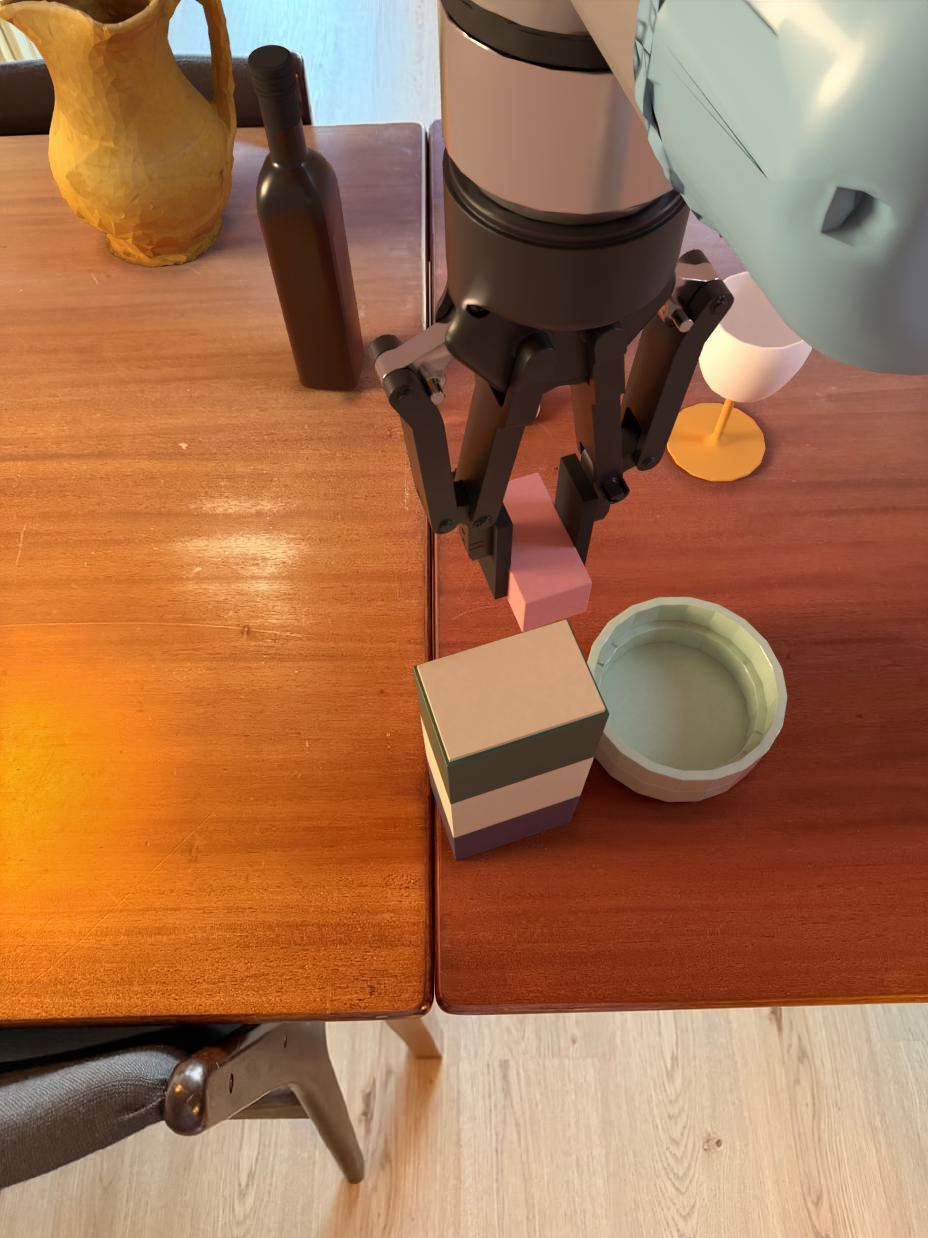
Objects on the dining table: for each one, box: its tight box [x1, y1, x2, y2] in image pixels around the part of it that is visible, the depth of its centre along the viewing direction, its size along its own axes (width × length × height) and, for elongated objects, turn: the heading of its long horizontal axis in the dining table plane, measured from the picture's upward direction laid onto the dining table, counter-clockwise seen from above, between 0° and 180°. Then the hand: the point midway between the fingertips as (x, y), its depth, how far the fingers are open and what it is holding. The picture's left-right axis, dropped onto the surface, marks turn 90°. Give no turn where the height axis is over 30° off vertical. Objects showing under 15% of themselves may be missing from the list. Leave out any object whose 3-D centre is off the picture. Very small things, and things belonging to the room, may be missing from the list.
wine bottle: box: [247, 44, 366, 393], centre depth 74 cm, size 6×6×30 cm
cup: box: [666, 270, 813, 482], centre depth 76 cm, size 9×9×16 cm
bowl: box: [587, 596, 788, 803], centre depth 68 cm, size 14×14×6 cm
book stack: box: [412, 618, 609, 862], centre depth 58 cm, size 6×9×22 cm, turn 108°
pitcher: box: [0, 0, 238, 268], centre depth 86 cm, size 17×19×25 cm
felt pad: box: [416, 619, 605, 762], centre depth 48 cm, size 6×9×1 cm, turn 109°
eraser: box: [503, 472, 593, 633], centre depth 46 cm, size 7×4×3 cm, turn 20°
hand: (530, 563), depth 47 cm, fingers closed on eraser, 3 cm apart
